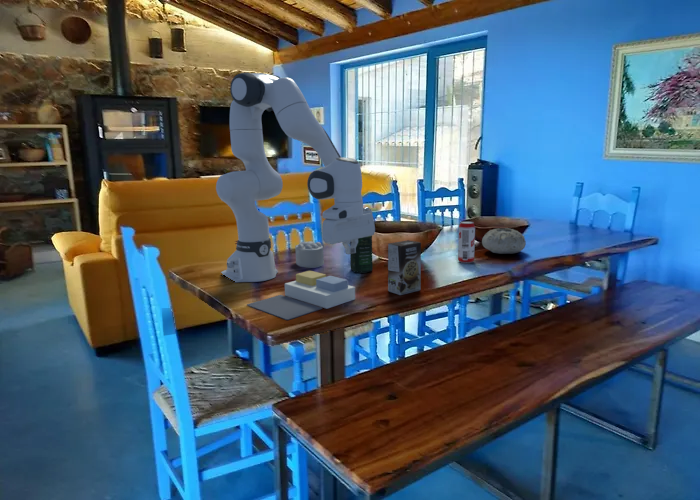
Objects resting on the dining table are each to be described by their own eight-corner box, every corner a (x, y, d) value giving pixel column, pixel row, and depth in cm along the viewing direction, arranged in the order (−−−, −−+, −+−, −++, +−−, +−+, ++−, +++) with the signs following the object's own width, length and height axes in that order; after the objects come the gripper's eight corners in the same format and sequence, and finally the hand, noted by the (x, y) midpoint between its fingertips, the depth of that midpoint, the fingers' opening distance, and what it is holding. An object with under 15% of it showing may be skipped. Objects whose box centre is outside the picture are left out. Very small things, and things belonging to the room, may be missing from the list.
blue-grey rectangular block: (316, 287, 160) (316, 279, 159) (330, 283, 164) (330, 275, 163) (333, 292, 154) (333, 284, 154) (348, 287, 158) (347, 279, 158)
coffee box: (400, 295, 162) (400, 246, 159) (387, 291, 167) (387, 243, 164) (421, 290, 167) (421, 242, 164) (408, 286, 172) (408, 239, 169)
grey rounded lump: (530, 257, 208) (532, 233, 206) (486, 258, 209) (487, 233, 207) (517, 247, 226) (519, 225, 224) (477, 248, 226) (478, 226, 224)
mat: (246, 305, 156) (246, 304, 156) (280, 295, 165) (280, 294, 165) (287, 320, 143) (287, 319, 142) (322, 308, 151) (322, 307, 151)
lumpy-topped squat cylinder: (317, 259, 214) (316, 239, 212) (328, 266, 202) (327, 244, 200) (293, 262, 210) (292, 241, 208) (303, 269, 199) (302, 247, 197)
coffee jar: (375, 272, 191) (374, 223, 187) (354, 274, 189) (353, 224, 185) (368, 266, 200) (367, 219, 196) (348, 268, 198) (347, 220, 194)
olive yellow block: (296, 281, 167) (295, 274, 166) (310, 277, 171) (309, 270, 170) (312, 286, 161) (311, 278, 160) (326, 282, 165) (326, 274, 165)
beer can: (457, 263, 201) (458, 223, 198) (458, 259, 207) (459, 220, 203) (473, 264, 199) (474, 223, 196) (474, 260, 205) (475, 221, 202)
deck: (285, 295, 165) (284, 283, 164) (313, 287, 174) (312, 276, 173) (326, 308, 151) (326, 295, 151) (355, 299, 160) (354, 286, 159)
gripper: (364, 206, 169) (365, 247, 171) (318, 213, 155) (320, 258, 157) (378, 207, 164) (379, 249, 167) (332, 214, 150) (334, 260, 153)
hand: (350, 253), depth 162 cm, fingers closed
